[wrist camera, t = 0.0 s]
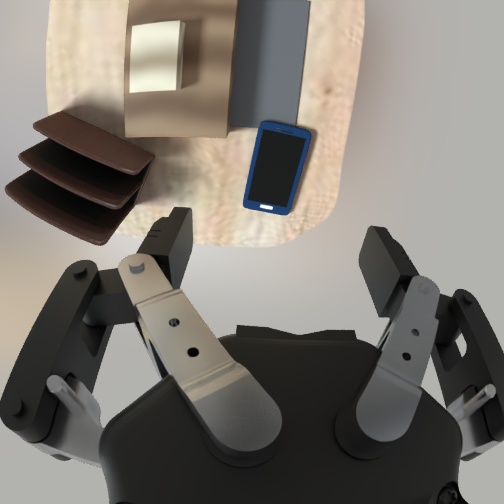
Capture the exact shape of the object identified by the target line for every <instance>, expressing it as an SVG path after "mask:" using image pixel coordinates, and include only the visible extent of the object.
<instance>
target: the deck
mask: <svg viewBox="0 0 504 504" xmlns="http://www.w3.org/2000/svg"><path fill="white" fill-rule="evenodd" d="M239 7H240V0H129V7H128V16H127V27H126V41H125V61H124V119H125V138H131V137H207V138H227V136H228V134H229V129H230V112H231V98H232V84H233V72H234V60H235V48H236V37H237V27H238V17H239ZM179 20H180V21H182V22H184V23H185V35H184V48H183V64H182V84H181V89H178V90H165V91H148V92H135V93H130V52H131V36H132V26H136V25H143V24H150V23H158V22H167V21H179Z"/></svg>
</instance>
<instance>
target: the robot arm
mask: <svg viewBox="0 0 504 504" xmlns="http://www.w3.org/2000/svg"><path fill="white" fill-rule="evenodd" d="M192 246H193V225H192V209H191V208H186V207H174V208H173V210H172V212H171V214H170V215H169V217H162V218H160V219H159V220H157V221H156V222H154V224H153V225H152V227H151V229H150V231H149V232H148V234H147V237H145V239H144V241H143V242H142V244H141V246H140V247H139V249H138V251H137V253H136V254H133V255H130V256H128V257H125V258H124V259H123V260H122V261H121V262H120V263H119V265H118V268H115V269H108V270H101V271H98V268H97V265H96V264H95V263H94V262H93V261H90V260H81V261H77V262H75V263H73V264H71V265H70V266H69V267H68V268H67V269H66V270H65V272H64V273H63V275H62V276H61V278H60V279H59V281H58V283H57V284H56V286H55V288H54V289H53V291H52V293H51V294H50V296H49V298H48V299H47V301H46V303H45V305H44V307H43V308H42V310H41V312H40V314H39V316H38V317H37V319H36V321H35V323H34V325H33V327H32V329H31V331H30V333H29V335H28V337H27V339H26V341H25V343H24V345H23V347H22V349H21V351H20V353H19V356H18V358H17V360H16V362H15V365H14V367H13V369H12V372H11V374H10V377H9V379H8V382H7V384H6V387H5V389H4V392H3V395H2V397H1V400H0V417H1V420H2V422H3V423H4V424H5V426H6V427H8V428H9V429H10V430H12V431H13V432H14V433H16V434H17V435H19V436H20V437H21V438H22V439H23V440H24V441H26V442H27V443H29V444H31V445H32V446H34V447H35V448H37V449H39V450H40V451H42V452H44V453H46V454H49V455H51V456H53V457H55V458H56V459H59V460H62V461H66V460H70V459H75V460H78V461H81V462H84V463H87V464H90V465H93V466H97V467H100V468H102V470H103V473H104V476H105V479H106V483H107V488H108V494H109V504H468V503H467V502H466V501H465V500H464V499H463V498H462V496H461V494H460V492H459V487H458V472H459V464H460V459H461V460H463V461H469V460H471V459H473V458H475V457H477V456H479V455H481V454H482V453H484V452H486V451H488V450H489V449H491V448H493V447H494V446H496V445H497V444H499V443H500V442H502V441H503V440H504V353H503V350H502V348H501V346H500V344H499V342H498V340H497V337H496V335H495V333H494V331H493V329H492V327H491V325H490V323H489V321H488V320H487V318H486V316H485V314H484V312H483V310H482V308H481V306H480V305H479V303H478V301H477V300H476V298H475V297H474V296H473V295H472V294H471V293H469V292H468V291H466V290H464V289H457V290H456V291H455V293H454V294H453V296H452V297H449V296H446V295H443V294H440V290H439V288H438V286H437V285H436V284H435V283H434V282H433V281H432V280H430V279H428V278H427V277H424V276H420V275H419V273H418V271H417V270H416V268H415V267H414V265H413V263H412V262H411V260H409V257H408V255H407V254H406V252H405V250H404V249H403V247H402V246H401V245H400V244H399V243H398V242H397V241H396V240H394V239H393V238H392V236H391V235H390V233H389V232H388V230H387V229H386V228H384V227H377V226H370V227H369V228H368V230H367V233H366V236H365V239H364V242H363V245H362V248H361V251H360V254H359V266H360V269H361V271H362V274H363V276H364V279H365V282H366V284H367V287H368V289H369V292H370V295H371V297H372V300H373V303H374V305H375V308H376V310H377V313H378V316H379V317H389V318H390V320H389V322H388V324H387V325H386V328H385V330H384V332H383V334H382V336H381V338H380V340H379V342H378V344H377V346H376V347H375V346H373V345H372V344H369V343H367V342H365V341H362V340H359V339H357V338H356V334H355V330H325V331H320V332H314V333H309V334H304V335H296V334H292V333H287V332H284V331H280V330H276V329H272V328H269V327H257V326H244V325H237V329H236V334H231V335H226V336H223V337H220V338H216V337H215V335H214V334H213V332H212V331H211V330H210V329H209V327H208V326H207V324H206V323H205V322H204V320H203V319H202V318H201V316H200V315H199V313H198V312H197V311H196V309H195V308H194V307H193V305H192V304H191V302H190V301H189V299H188V298H187V297H186V295H185V294H184V292H183V291H182V290H181V289H180V285H181V282H182V279H183V276H184V273H185V270H186V267H187V264H188V261H189V257H190V255H191V252H192ZM125 323H134V325H135V327H136V329H137V332H138V334H139V336H140V338H141V340H142V342H143V344H144V346H145V348H146V350H147V352H148V354H149V356H150V358H151V360H152V362H153V365H154V367H155V369H156V371H157V373H158V375H159V377H160V379H161V381H160V382H158V383H157V384H156V385H155V386H153V387H152V388H151V389H149V390H148V391H147V392H146V393H144V394H143V395H142V396H141V397H139V398H138V399H137V400H136V401H134V402H133V403H132V404H130V405H129V406H128V407H126V408H125V409H124V410H122V411H121V412H120V413H118V414H117V415H116V416H115V417H113V418H112V419H111V420H110V421H109V422H108V424H107V425H106V427H105V428H102V426H101V422H100V413H101V412H100V406H99V404H98V402H97V400H96V399H95V398H94V397H93V395H92V392H93V389H94V385H95V382H96V379H97V375H98V372H99V369H100V365H101V362H102V359H103V356H104V353H105V350H106V347H107V344H108V341H109V338H110V335H111V332H112V329H113V327H114V325H117V324H125ZM461 333H462V334H463V336H464V339H465V341H466V344H467V350H466V353H465V355H464V356H463V357H461V354H460V351H459V349H458V346H457V344H456V341H455V340H456V339H457V338H458V337H459V335H460V334H461ZM430 354H431V357H432V360H433V363H434V366H435V369H436V373H437V376H438V380H439V383H440V387H441V390H442V394H443V398H444V401H445V405H446V409H447V410H446V409H445V408H444V407H443V406H441V405H440V404H439V403H438V402H437V401H436V400H435V399H434V398H433V397H432V396H431V395H430V394H428V393H427V392H426V391H425V390H424V389H423V388H422V387H421V383H422V380H423V377H424V374H425V371H426V368H427V364H428V361H429V358H430Z"/></svg>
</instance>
